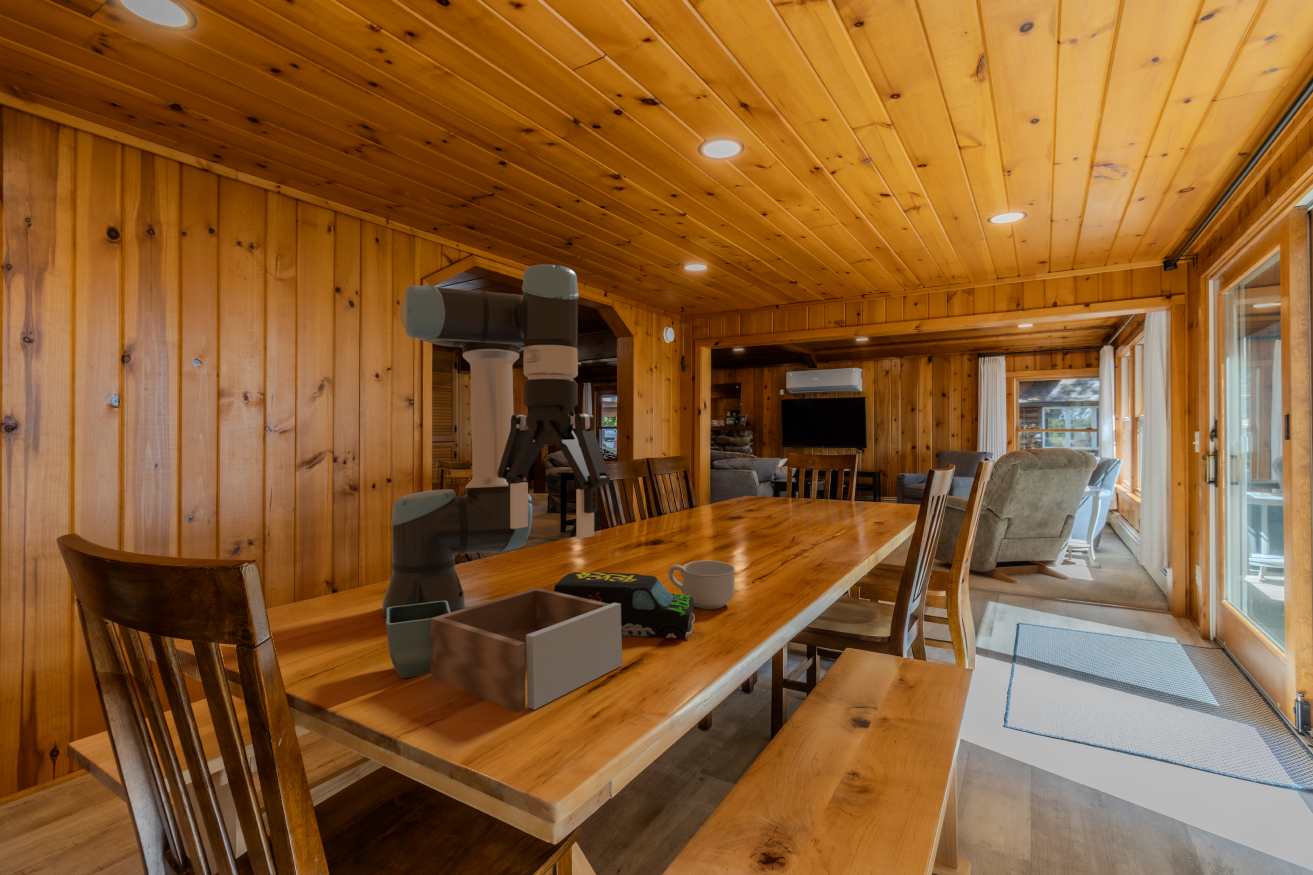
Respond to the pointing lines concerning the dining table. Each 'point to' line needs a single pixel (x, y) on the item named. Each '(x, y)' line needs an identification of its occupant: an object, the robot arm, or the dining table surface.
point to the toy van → (635, 602)
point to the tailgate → (572, 654)
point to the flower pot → (412, 636)
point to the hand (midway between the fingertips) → (550, 532)
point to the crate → (497, 642)
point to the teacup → (706, 582)
